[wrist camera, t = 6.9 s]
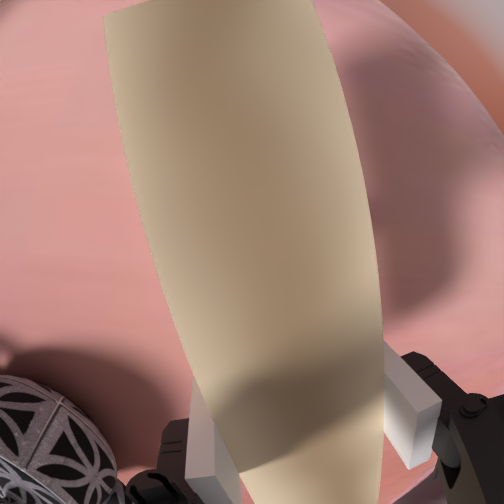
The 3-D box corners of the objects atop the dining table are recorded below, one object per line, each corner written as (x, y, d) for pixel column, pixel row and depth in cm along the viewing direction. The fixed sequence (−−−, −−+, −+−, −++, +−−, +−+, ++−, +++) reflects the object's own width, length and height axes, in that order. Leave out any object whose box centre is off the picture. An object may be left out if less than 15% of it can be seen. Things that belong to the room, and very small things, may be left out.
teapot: (142, 507, 32) (132, 587, 17) (-36, 398, 26) (-85, 457, 11) (204, 447, 30) (205, 562, 15) (-28, 301, 23) (-115, 360, 9)
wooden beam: (272, 487, 17) (287, 558, 11) (149, 82, 11) (103, 16, 5) (344, 467, 17) (373, 532, 11) (267, 56, 11) (302, -23, 5)
